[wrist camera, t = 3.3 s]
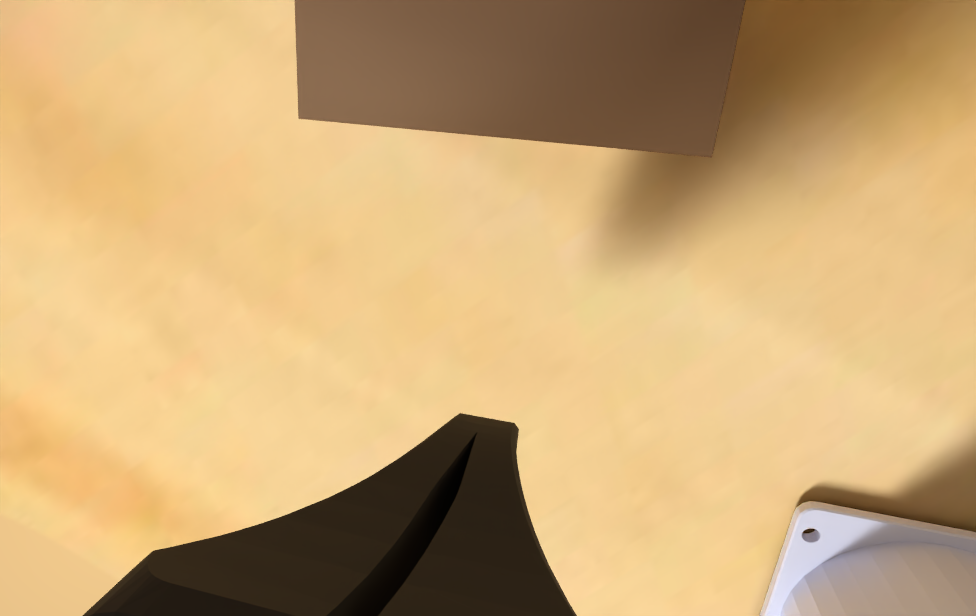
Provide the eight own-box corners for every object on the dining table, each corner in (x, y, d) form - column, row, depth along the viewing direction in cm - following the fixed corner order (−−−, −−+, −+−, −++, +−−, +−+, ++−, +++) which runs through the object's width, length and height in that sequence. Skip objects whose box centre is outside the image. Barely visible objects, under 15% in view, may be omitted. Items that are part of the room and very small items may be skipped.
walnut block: (659, 142, 15) (711, 157, 7) (446, 123, 16) (298, 118, 8) (689, -27, 13) (793, -226, 6) (454, -36, 14) (287, -214, 7)
